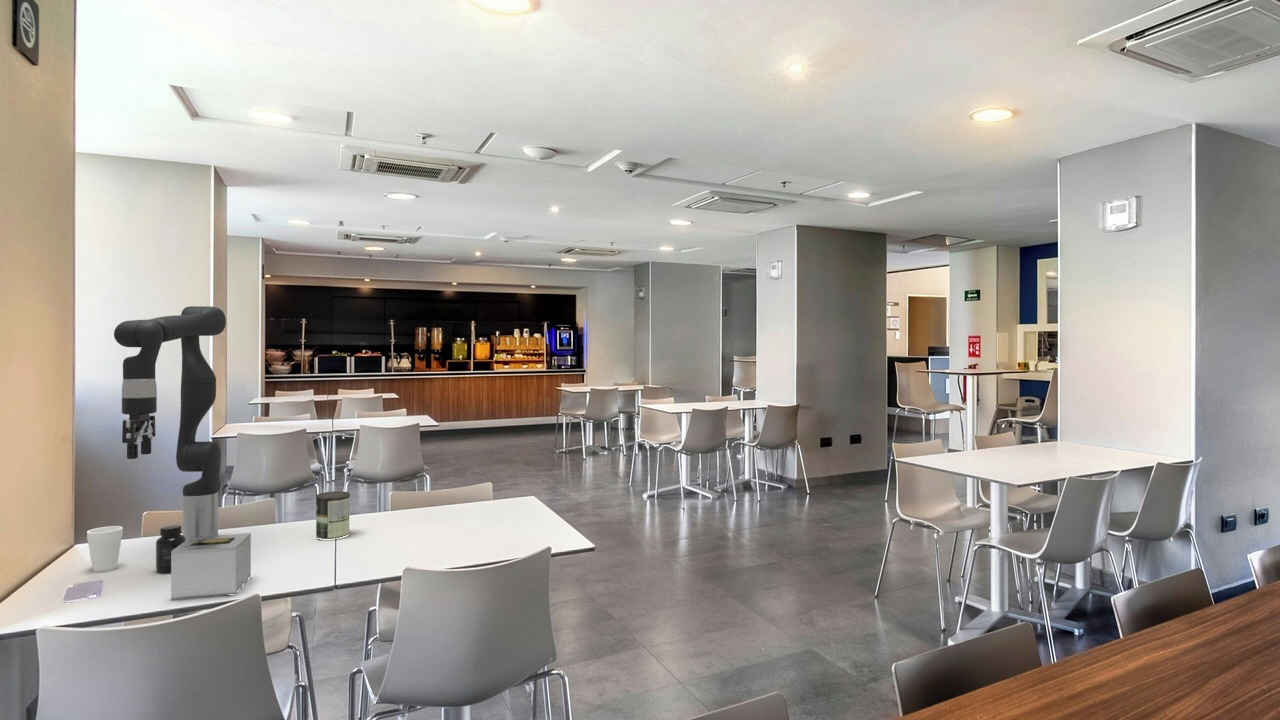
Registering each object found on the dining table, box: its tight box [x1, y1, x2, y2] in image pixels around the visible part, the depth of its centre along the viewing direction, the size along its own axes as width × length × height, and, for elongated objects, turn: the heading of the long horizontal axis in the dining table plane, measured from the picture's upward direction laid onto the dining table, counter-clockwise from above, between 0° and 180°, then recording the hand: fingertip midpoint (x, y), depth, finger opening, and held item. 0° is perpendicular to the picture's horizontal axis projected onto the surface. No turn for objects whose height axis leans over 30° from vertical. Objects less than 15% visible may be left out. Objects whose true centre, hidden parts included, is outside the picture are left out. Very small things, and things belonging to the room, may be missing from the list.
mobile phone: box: [62, 579, 105, 601], centre depth 172 cm, size 8×1×15 cm
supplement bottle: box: [155, 525, 185, 574], centre depth 189 cm, size 7×7×12 cm
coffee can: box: [315, 490, 351, 539], centre depth 225 cm, size 10×10×14 cm
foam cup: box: [86, 525, 124, 573], centre depth 190 cm, size 8×8×11 cm
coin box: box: [170, 532, 252, 601], centre depth 175 cm, size 14×14×12 cm
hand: (139, 456), depth 181 cm, fingers open, 8 cm apart
